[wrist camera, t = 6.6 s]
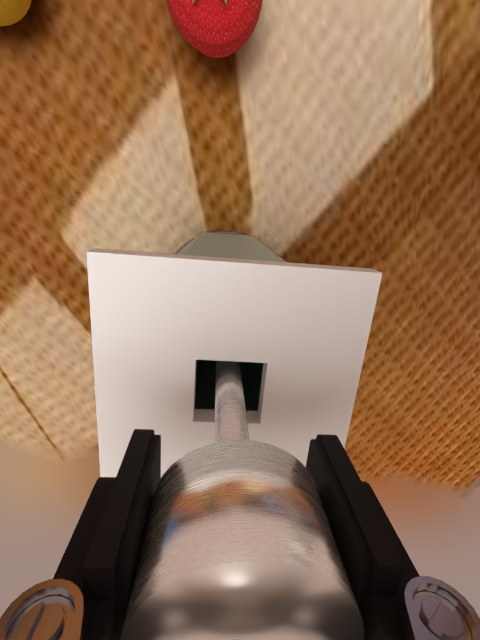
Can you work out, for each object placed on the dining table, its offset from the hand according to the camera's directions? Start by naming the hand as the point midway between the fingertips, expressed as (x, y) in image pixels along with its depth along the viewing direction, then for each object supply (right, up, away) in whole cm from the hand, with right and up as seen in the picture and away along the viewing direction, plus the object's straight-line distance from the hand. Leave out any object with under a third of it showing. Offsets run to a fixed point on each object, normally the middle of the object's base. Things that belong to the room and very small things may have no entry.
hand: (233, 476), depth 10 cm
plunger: (-1, +6, +19) cm, 20 cm away
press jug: (-1, +6, +21) cm, 22 cm away
